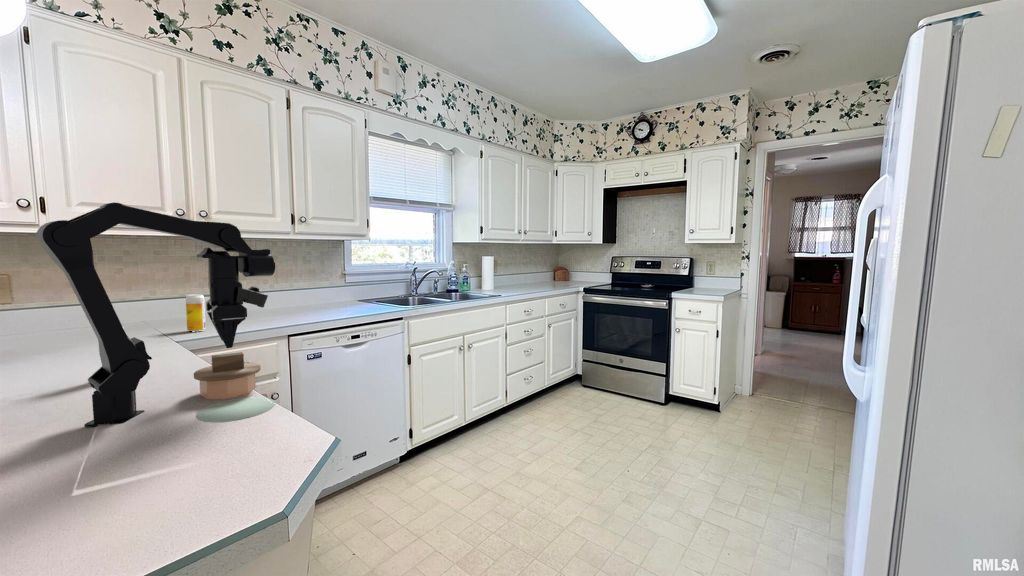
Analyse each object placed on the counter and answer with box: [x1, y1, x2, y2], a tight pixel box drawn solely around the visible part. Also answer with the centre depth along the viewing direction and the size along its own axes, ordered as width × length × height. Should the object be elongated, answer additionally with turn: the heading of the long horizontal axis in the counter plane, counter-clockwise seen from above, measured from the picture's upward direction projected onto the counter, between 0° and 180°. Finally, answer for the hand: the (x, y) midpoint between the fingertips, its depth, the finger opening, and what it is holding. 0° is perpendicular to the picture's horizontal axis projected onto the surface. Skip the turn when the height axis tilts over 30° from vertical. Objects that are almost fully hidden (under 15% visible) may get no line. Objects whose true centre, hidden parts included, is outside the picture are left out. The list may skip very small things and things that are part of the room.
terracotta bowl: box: [199, 373, 257, 400], centre depth 98 cm, size 10×10×5 cm
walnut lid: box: [193, 352, 262, 382], centre depth 98 cm, size 13×13×4 cm
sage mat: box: [195, 396, 276, 423], centre depth 88 cm, size 14×14×1 cm
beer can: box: [185, 293, 207, 332], centre depth 170 cm, size 6×6×15 cm
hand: (227, 344), depth 97 cm, fingers open, 9 cm apart
